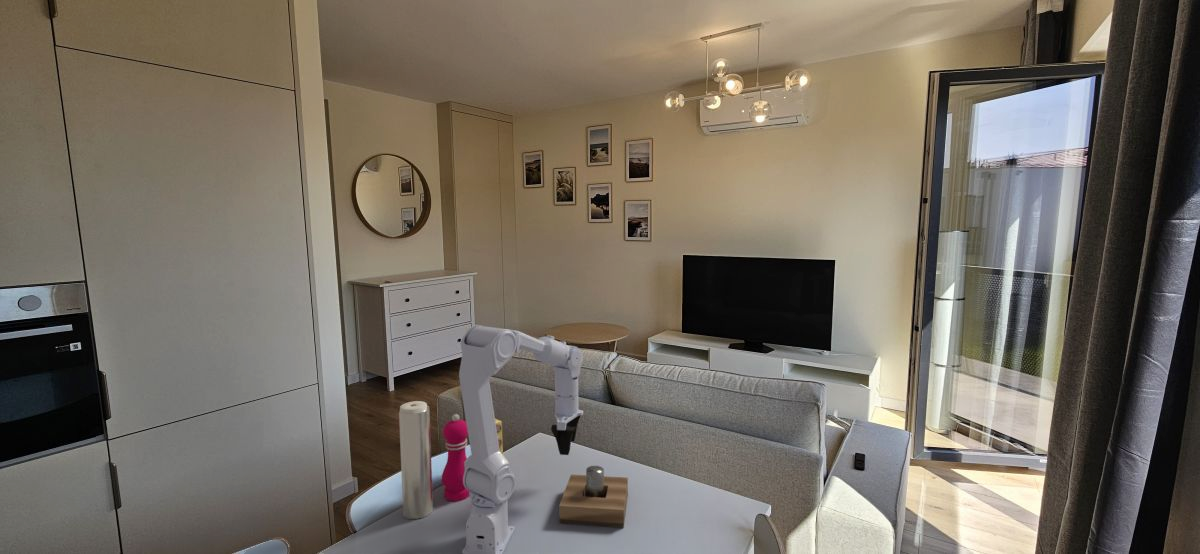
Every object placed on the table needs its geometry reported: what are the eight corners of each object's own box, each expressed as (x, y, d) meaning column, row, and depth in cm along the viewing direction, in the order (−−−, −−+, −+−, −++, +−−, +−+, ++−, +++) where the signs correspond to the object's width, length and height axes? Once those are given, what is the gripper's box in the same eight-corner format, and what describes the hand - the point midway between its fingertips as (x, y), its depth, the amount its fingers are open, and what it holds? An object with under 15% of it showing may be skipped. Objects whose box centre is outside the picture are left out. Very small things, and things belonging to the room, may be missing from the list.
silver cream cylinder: (423, 521, 105) (419, 410, 103) (396, 517, 107) (392, 408, 105) (438, 505, 112) (435, 400, 110) (413, 502, 113) (409, 398, 111)
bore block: (623, 527, 102) (623, 509, 102) (559, 523, 104) (559, 505, 104) (627, 493, 116) (627, 477, 116) (571, 490, 118) (570, 474, 118)
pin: (601, 509, 108) (601, 475, 107) (584, 506, 109) (584, 472, 108) (604, 499, 112) (605, 466, 111) (588, 497, 113) (588, 464, 112)
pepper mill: (477, 487, 120) (475, 409, 118) (466, 503, 112) (464, 420, 111) (449, 486, 120) (447, 408, 119) (437, 501, 113) (434, 419, 112)
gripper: (577, 404, 110) (578, 461, 111) (587, 385, 124) (587, 436, 125) (547, 403, 110) (548, 460, 111) (560, 384, 125) (561, 434, 126)
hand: (567, 447), depth 118 cm, fingers open, 7 cm apart
